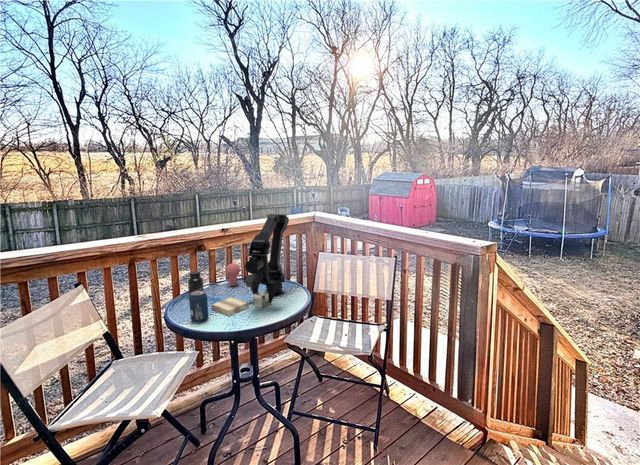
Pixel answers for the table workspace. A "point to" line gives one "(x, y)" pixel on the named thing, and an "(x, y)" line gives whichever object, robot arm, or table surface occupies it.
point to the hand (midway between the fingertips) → (263, 300)
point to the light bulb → (232, 273)
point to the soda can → (198, 306)
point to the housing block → (261, 299)
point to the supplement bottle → (195, 282)
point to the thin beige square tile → (230, 306)
